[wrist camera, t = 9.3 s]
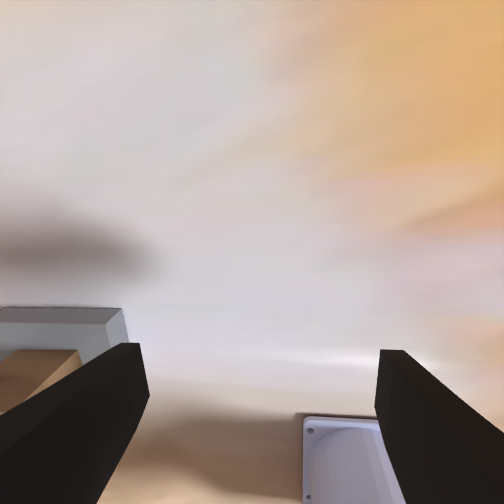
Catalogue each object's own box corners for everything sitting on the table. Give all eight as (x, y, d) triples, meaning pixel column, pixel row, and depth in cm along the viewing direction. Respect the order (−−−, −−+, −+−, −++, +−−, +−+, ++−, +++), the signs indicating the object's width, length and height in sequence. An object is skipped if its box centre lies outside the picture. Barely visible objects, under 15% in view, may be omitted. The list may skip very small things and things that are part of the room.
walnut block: (94, 403, 21) (39, 475, 16) (37, 401, 22) (-32, 471, 17) (77, 349, 20) (11, 412, 15) (17, 349, 20) (-65, 410, 15)
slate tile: (143, 409, 23) (130, 432, 22) (39, 403, 24) (19, 424, 23) (121, 308, 21) (105, 324, 19) (5, 307, 22) (-21, 321, 20)
